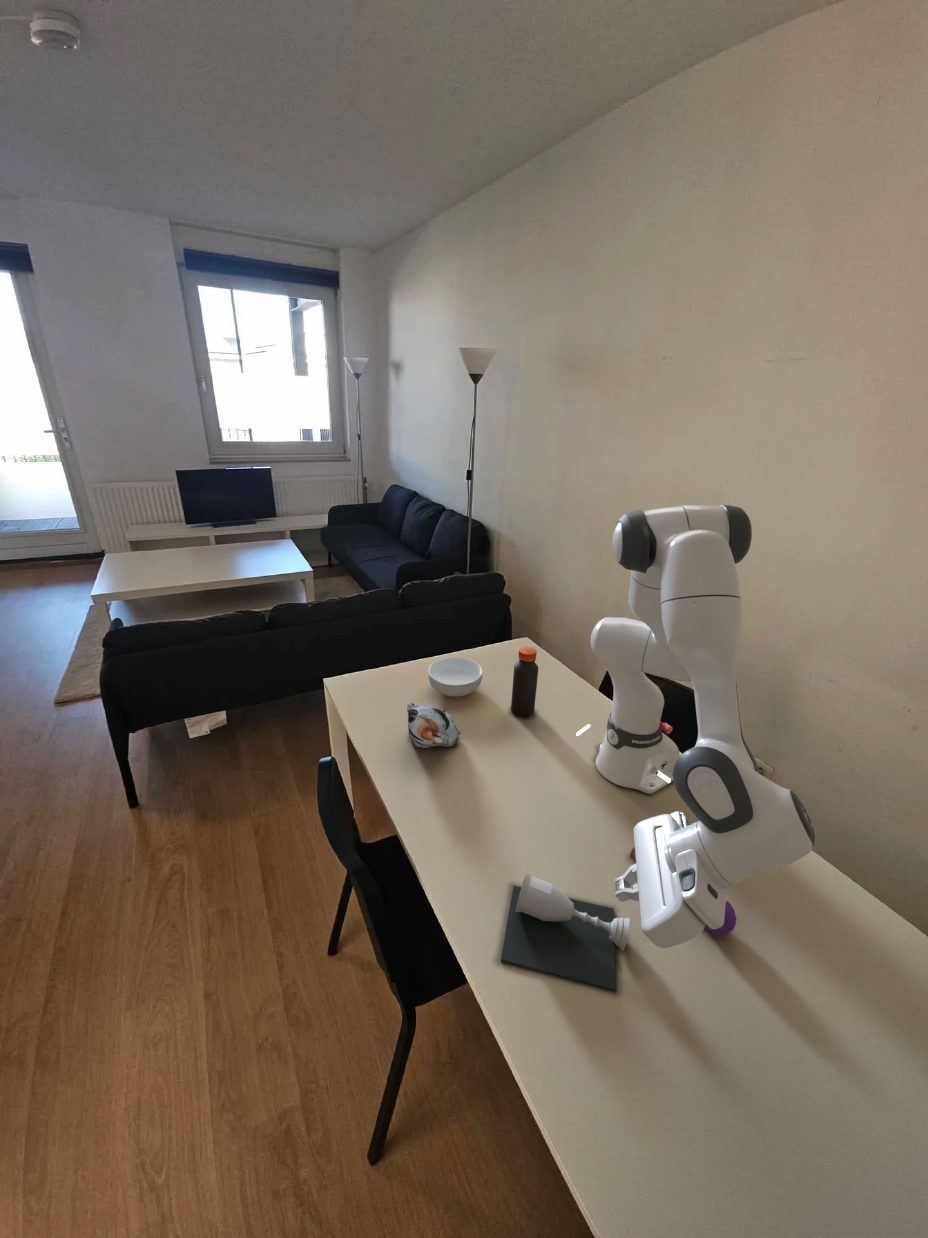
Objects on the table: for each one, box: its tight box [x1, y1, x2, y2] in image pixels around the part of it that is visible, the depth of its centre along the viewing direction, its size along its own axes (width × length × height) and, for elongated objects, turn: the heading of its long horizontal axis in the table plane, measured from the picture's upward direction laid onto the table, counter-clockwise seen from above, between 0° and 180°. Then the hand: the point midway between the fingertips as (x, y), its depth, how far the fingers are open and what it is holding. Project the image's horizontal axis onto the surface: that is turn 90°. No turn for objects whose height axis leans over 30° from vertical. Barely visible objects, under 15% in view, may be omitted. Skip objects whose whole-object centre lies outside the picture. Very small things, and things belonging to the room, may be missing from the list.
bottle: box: [510, 646, 539, 719], centre depth 143 cm, size 7×7×20 cm
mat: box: [500, 885, 617, 992], centre depth 86 cm, size 18×14×1 cm
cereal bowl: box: [427, 656, 483, 697], centre depth 156 cm, size 17×17×7 cm
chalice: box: [515, 870, 630, 951], centre depth 86 cm, size 7×7×18 cm
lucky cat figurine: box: [406, 702, 461, 749], centre depth 130 cm, size 15×12×14 cm
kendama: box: [629, 846, 737, 936], centre depth 92 cm, size 6×6×20 cm
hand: (617, 891), depth 79 cm, fingers closed
